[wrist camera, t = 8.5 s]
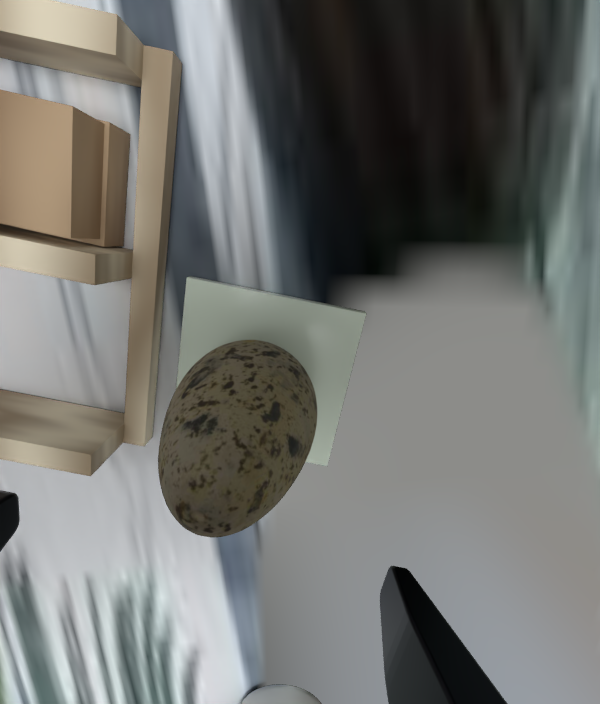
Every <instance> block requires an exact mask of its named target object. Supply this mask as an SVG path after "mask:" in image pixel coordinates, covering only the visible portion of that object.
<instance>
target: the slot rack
mask: <svg viewBox="0 0 600 704" xmlns="http://www.w3.org/2000/svg"><path fill="white" fill-rule="evenodd" d="M0 58H5V59H10V60H14V61H19V62H24V63H29V64H33V65H38V66H43V67H47V68H52V69H57V70H61V71H66V72H71V73H76V74H80V75H85V76H90V77H94V78H99V79H104V80H109V81H113V82H118V83H123V84H127V85H132V86H137V87H141V107H140V126H139V145H138V165H137V184H136V203H135V223H134V242H133V250H130V249H125V248H120V247H103V246H98V245H94V244H89V243H85V242H80V241H76V240H71V239H67V238H62V237H58V236H53V235H49V234H44V233H40V232H35V231H31V230H26V229H22V228H17V227H13V226H8V225H4V224H0V266H2V267H7V268H12V269H17V270H22V271H27V272H32V273H37V274H42V275H47V276H52V277H57V278H62V279H66V280H71V281H76V282H81V283H86V284H91V285H98V284H103V283H108V282H114V281H119V280H124V279H129V278H132V281H131V300H130V320H129V339H128V358H127V378H126V397H125V413H120V412H115V411H109V410H104V409H99V408H94V407H89V406H84V405H79V404H73V403H68V402H63V401H58V400H53V399H48V398H42V397H37V396H32V395H27V394H22V393H17V392H12V391H6V390H1V389H0V459H3V460H8V461H13V462H19V463H24V464H29V465H34V466H40V467H45V468H50V469H55V470H61V471H66V472H71V473H77V474H82V475H87V476H91V475H92V474H93V473H94V472H95V471H96V470H97V469H98V468H99V467H100V466H101V465H102V464H103V463H104V462H105V461H106V460H107V459H108V458H109V457H110V456H111V455H112V453H113V452H114V451H115V450H116V449H117V448H118V447H119V446H120V445H121V444H122V443H123V442H124V443H129V444H134V445H139V446H145V445H146V444H147V443H148V442H149V440H150V439H151V438H152V434H153V422H154V409H155V396H156V384H157V371H158V359H159V346H160V334H161V321H162V308H163V296H164V283H165V271H166V258H167V246H168V233H169V220H170V208H171V195H172V183H173V170H174V158H175V145H176V132H177V120H178V107H179V95H180V82H181V70H182V63H181V61H180V60H179V59H178V57H177V56H176V55H175V53H174V52H173V51H169V50H164V49H159V48H155V47H150V46H145V45H143V44H142V43H141V41H140V40H139V39H138V38H137V37H136V36H135V35H134V33H133V32H132V31H131V30H130V29H129V28H128V26H127V25H126V24H125V23H124V22H123V21H122V20H121V18H120V17H119V16H118V15H117V14H112V13H108V12H103V11H98V10H94V9H89V8H84V7H80V6H75V5H71V4H66V3H61V2H57V1H52V0H0Z"/></svg>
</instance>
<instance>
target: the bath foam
mask: <svg viewBox="0 0 600 704" xmlns="http://www.w3.org/2000/svg"><path fill="white" fill-rule="evenodd" d="M241 704H321V702H320V701H319V700H318V699H317V698H316V697H315V696H314V695H313V694H311V693H310V692H308V691H306V690H304V689H301V688H298V687H295V686H290V685H283V684H282V685H281V684H276V685H268V686H264V687H261V688H258V689H256V690H254V691H253V692H251V693H250V694H249V695H247V696H246V697H245V699H244V700H243V701H242V703H241Z"/></svg>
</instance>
